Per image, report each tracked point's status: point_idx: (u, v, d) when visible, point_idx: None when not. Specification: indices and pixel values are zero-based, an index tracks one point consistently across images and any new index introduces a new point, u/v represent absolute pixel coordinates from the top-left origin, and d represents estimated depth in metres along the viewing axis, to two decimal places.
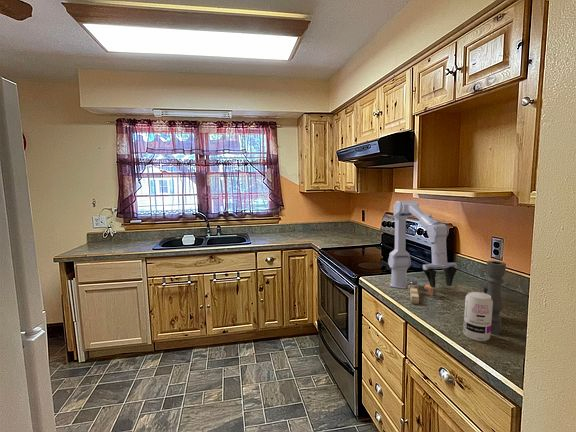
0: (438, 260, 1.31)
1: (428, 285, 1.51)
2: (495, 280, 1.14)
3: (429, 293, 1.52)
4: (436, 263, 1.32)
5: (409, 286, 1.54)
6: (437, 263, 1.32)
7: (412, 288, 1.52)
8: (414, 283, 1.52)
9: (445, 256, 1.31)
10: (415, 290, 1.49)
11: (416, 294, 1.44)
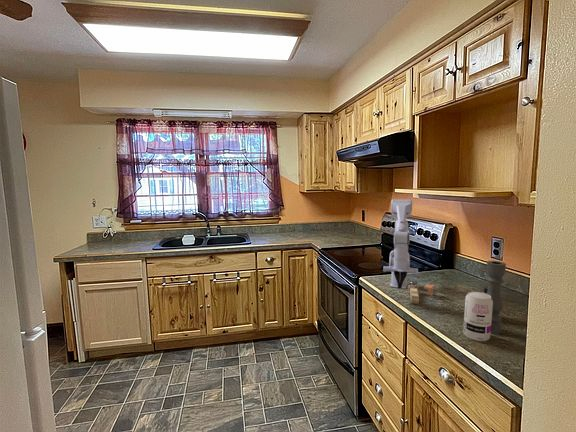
0: (396, 264, 1.42)
1: (428, 285, 1.51)
2: (494, 280, 1.14)
3: (429, 293, 1.52)
4: (394, 267, 1.43)
5: (409, 286, 1.54)
6: (395, 267, 1.42)
7: (412, 288, 1.52)
8: (414, 283, 1.52)
9: (403, 262, 1.40)
10: (415, 290, 1.49)
11: (416, 294, 1.44)
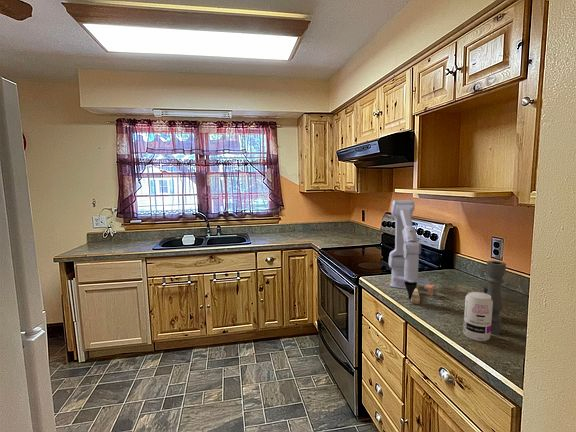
0: (406, 275, 1.41)
1: (428, 285, 1.51)
2: (495, 280, 1.14)
3: (429, 293, 1.52)
4: (405, 277, 1.42)
5: None
6: (405, 277, 1.42)
7: None
8: None
9: (413, 273, 1.39)
10: (415, 290, 1.49)
11: (417, 294, 1.44)
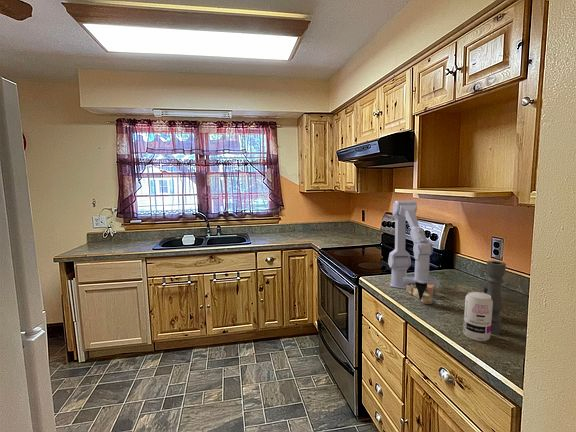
0: (417, 276, 1.40)
1: (428, 285, 1.51)
2: (494, 280, 1.14)
3: (429, 293, 1.52)
4: (415, 278, 1.41)
5: (410, 287, 1.54)
6: (416, 278, 1.40)
7: (415, 288, 1.51)
8: (414, 283, 1.52)
9: (424, 273, 1.38)
10: None
11: (426, 294, 1.44)
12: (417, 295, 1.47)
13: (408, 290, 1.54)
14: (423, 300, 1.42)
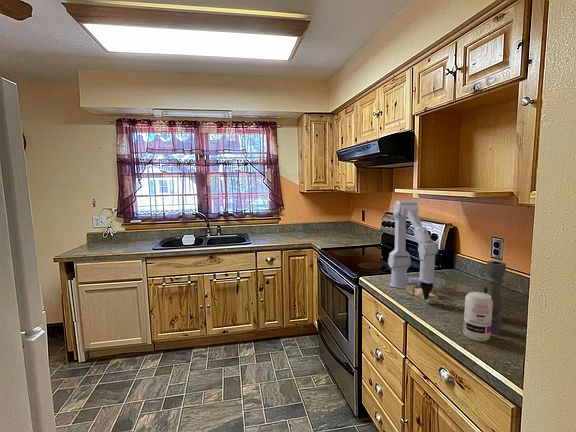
0: (422, 276, 1.39)
1: None
2: (495, 280, 1.14)
3: None
4: (421, 278, 1.40)
5: (410, 287, 1.53)
6: (421, 278, 1.40)
7: (416, 288, 1.51)
8: (414, 283, 1.52)
9: (430, 273, 1.38)
10: None
11: (430, 294, 1.44)
12: (420, 295, 1.47)
13: (409, 290, 1.54)
14: (428, 300, 1.42)
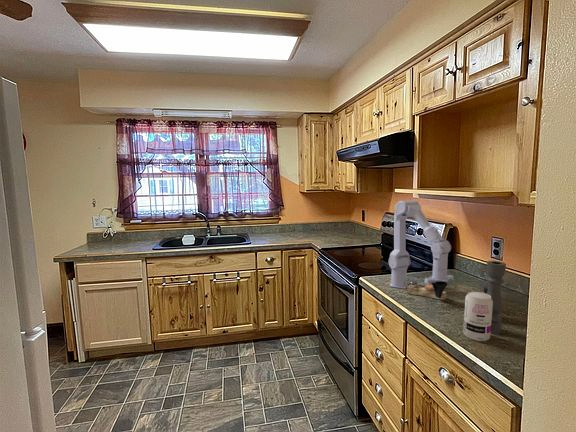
0: (439, 275, 1.41)
1: (428, 285, 1.51)
2: (495, 280, 1.14)
3: None
4: (437, 277, 1.42)
5: (413, 287, 1.53)
6: (438, 278, 1.41)
7: (419, 288, 1.52)
8: (414, 283, 1.52)
9: (446, 271, 1.41)
10: None
11: None
12: (427, 294, 1.49)
13: (411, 291, 1.53)
14: None
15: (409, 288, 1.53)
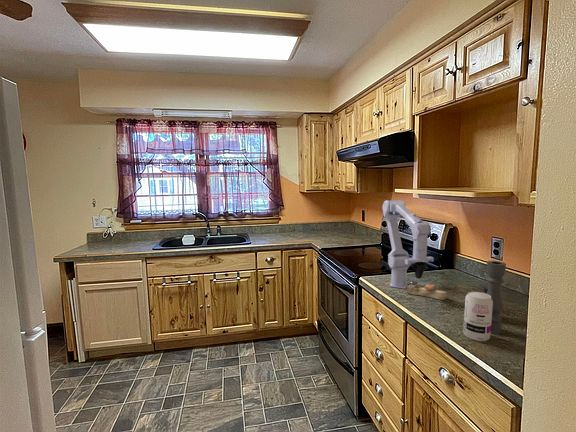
0: (419, 256, 1.44)
1: (428, 285, 1.51)
2: (495, 280, 1.14)
3: None
4: (417, 258, 1.45)
5: (413, 287, 1.53)
6: (418, 258, 1.45)
7: (419, 288, 1.52)
8: (414, 283, 1.52)
9: (425, 252, 1.44)
10: None
11: (437, 290, 1.48)
12: (427, 294, 1.49)
13: (411, 291, 1.53)
14: (439, 297, 1.46)
15: (409, 288, 1.53)
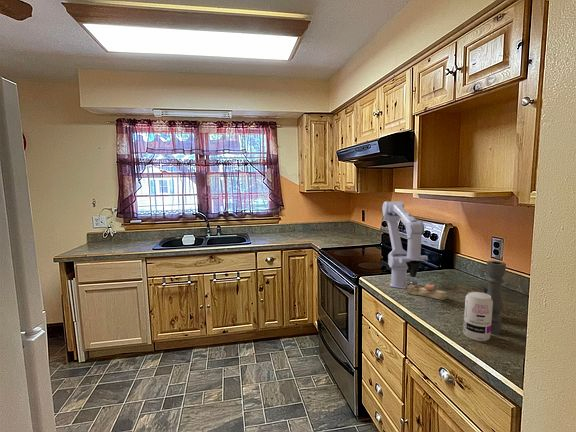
0: (413, 254, 1.46)
1: (428, 285, 1.51)
2: (495, 280, 1.14)
3: None
4: (411, 257, 1.47)
5: (413, 287, 1.53)
6: (412, 257, 1.46)
7: (419, 288, 1.52)
8: (414, 283, 1.52)
9: (419, 251, 1.46)
10: None
11: (437, 290, 1.48)
12: (427, 294, 1.49)
13: (411, 291, 1.53)
14: (439, 297, 1.46)
15: (409, 288, 1.53)
